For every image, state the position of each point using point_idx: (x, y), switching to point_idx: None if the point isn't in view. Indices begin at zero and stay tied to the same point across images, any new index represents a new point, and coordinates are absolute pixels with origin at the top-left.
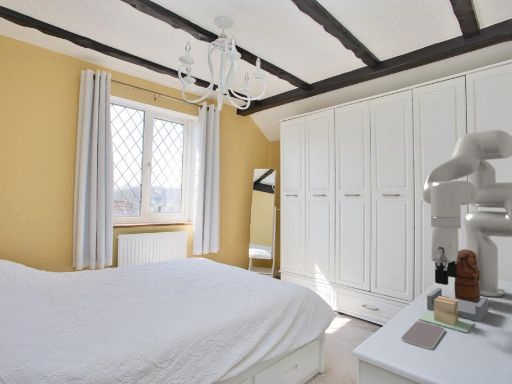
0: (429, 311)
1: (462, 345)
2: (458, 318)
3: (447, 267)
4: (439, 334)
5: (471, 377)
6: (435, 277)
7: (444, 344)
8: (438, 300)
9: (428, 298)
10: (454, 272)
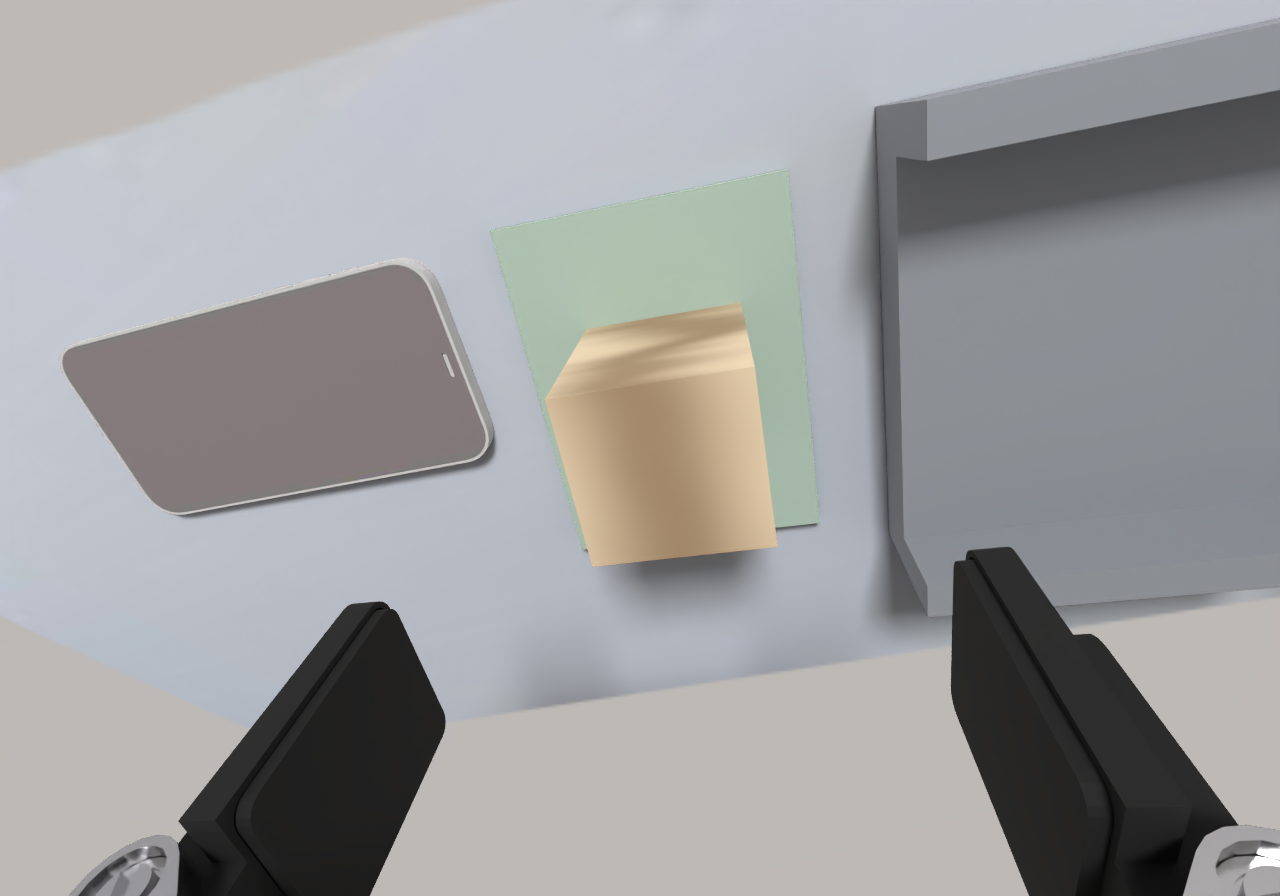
0: (776, 188)
1: (392, 578)
2: (809, 429)
3: (1036, 754)
4: (363, 472)
5: (159, 679)
6: (305, 668)
7: (303, 522)
8: (568, 437)
9: (913, 123)
10: (989, 766)
